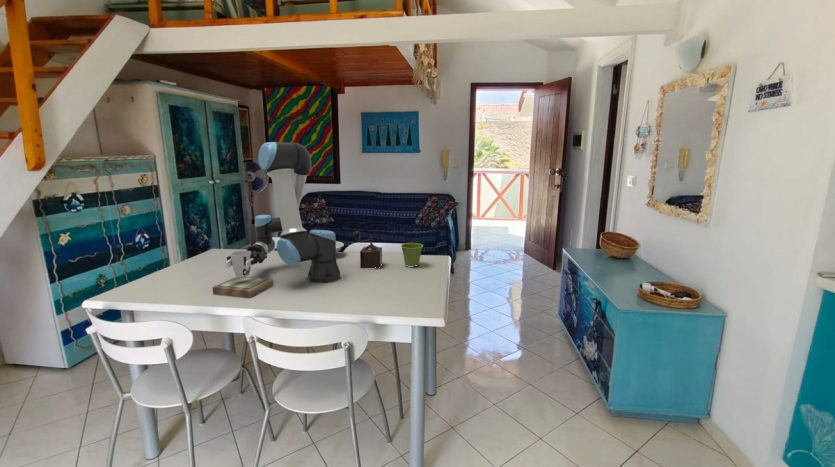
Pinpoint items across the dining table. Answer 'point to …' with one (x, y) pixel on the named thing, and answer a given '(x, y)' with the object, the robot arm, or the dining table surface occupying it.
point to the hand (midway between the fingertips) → (236, 265)
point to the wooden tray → (243, 287)
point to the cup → (240, 262)
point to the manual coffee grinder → (369, 254)
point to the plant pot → (411, 253)
